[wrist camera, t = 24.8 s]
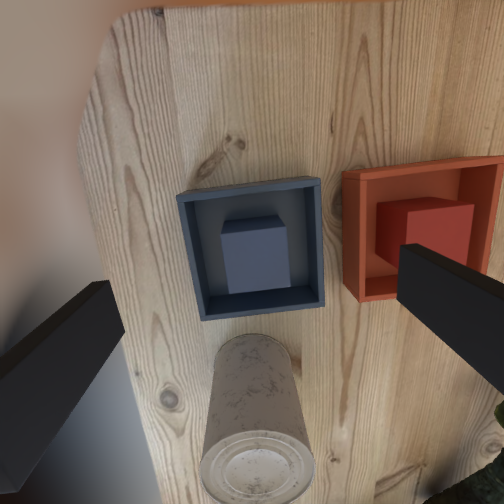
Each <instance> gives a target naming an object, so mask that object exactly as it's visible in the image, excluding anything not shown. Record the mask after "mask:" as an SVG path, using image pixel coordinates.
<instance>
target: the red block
mask: <svg viewBox="0 0 504 504" xmlns="http://www.w3.org/2000/svg"><path fill="white" fill-rule="evenodd" d="M474 205H475V204H471V203H465V202H460V201H454V200H448V199H442V198H437V197H431V196H430V197H422V198H413V199H405V200H396V201H388V202H379V203H377V211H376V244H375V254H376V255H378V256H379V257H380V258H382V259H383V260H385V261H386V262H388V263H389V264H391V265H392V266H394V267H395V268H397V269H398V267H399V252H400V245H404V244H412V243H418V244H420V245H422V246H424V247H427V248H429V249H431V250H433V251H435V252H437V253H439V254H442V255H444V256H446V257H448V258H450V259H452V260H454V261H456V262H459V263H461V264H463V265H465V266H466V262H467V255H468V248H469V241H470V234H471V226H472V219H473V212H474Z"/></svg>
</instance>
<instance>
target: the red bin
mask: <svg viewBox="0 0 504 504" xmlns="http://www.w3.org/2000/svg"><path fill="white" fill-rule="evenodd" d="M503 170H504V156H473V157H458V158H450V159H442V160H434V161H425V162H417V163H409V164H401V165H393V166H384V167H376V168H368V169H360V170H352V171H343V172H342V239H343V284H344V285H345V286H346V287H347V289H348V290H349V291H350V292H351V293H352V295H353V296H354V297H355V298H356V299H357V301H358V302H359V303H360V302H369V301H377V300H386V299H394V298H396V296H397V282H398V269H397V268H395V267H394V266H392V265H391V264H389V263H388V262H386V261H385V260H383V259H382V258H380V257H379V256H378V255H376V254H375V244H376V211H377V203H379V202H388V201H396V200H405V199H413V198H422V197H430V196H431V197H437V198H442V199H448V200H454V201H460V202H465V203H471V204H475V205H474V212H473V219H472V226H471V234H470V241H469V248H468V255H467V262H466V266H467V267H469V268H471V269H473V270H476V271H478V272H480V273H482V274H484V275H486V273H487V267H488V261H489V255H490V249H491V243H492V237H493V231H494V225H495V219H496V213H497V207H498V201H499V195H500V188H501V182H502V176H503Z"/></svg>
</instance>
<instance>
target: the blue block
mask: <svg viewBox="0 0 504 504" xmlns="http://www.w3.org/2000/svg"><path fill="white" fill-rule="evenodd" d="M220 238H221V245H222V251H223V257H224V264H225V270H226V276H227V283H228V289H229V294H232V293H241V292H249V291H257V290H266V289H274V288H283V287H290V286H291V281H290V268H289V255H288V242H287V230H286V225H285V224H284V223H283V221H282V220H281V218H280V217H279V215H269V216H261V217H253V218H244V219H236V220H228V221H224V224H223V227H222V230H221V233H220Z"/></svg>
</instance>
